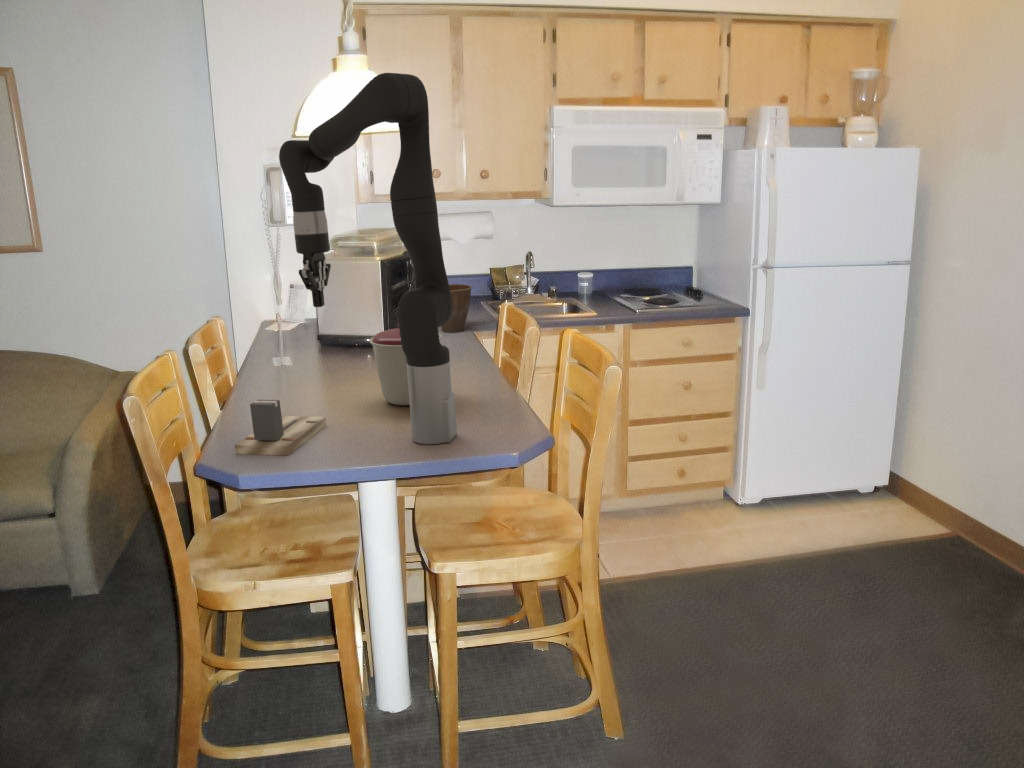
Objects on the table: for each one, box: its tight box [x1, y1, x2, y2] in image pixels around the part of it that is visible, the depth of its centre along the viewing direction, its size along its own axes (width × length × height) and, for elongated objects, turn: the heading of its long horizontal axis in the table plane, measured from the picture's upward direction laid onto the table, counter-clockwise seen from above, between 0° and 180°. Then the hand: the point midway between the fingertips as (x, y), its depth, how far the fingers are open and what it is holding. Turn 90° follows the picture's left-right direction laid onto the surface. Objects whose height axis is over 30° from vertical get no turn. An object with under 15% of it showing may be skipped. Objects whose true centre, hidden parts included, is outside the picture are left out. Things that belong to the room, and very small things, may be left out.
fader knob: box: [249, 399, 284, 441], centre depth 167 cm, size 5×4×8 cm
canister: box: [369, 322, 443, 407], centre depth 197 cm, size 18×18×21 cm
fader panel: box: [234, 415, 327, 456], centre depth 174 cm, size 12×20×2 cm, turn 170°
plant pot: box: [440, 283, 472, 334], centre depth 283 cm, size 15×15×16 cm
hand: (319, 306), depth 182 cm, fingers closed
